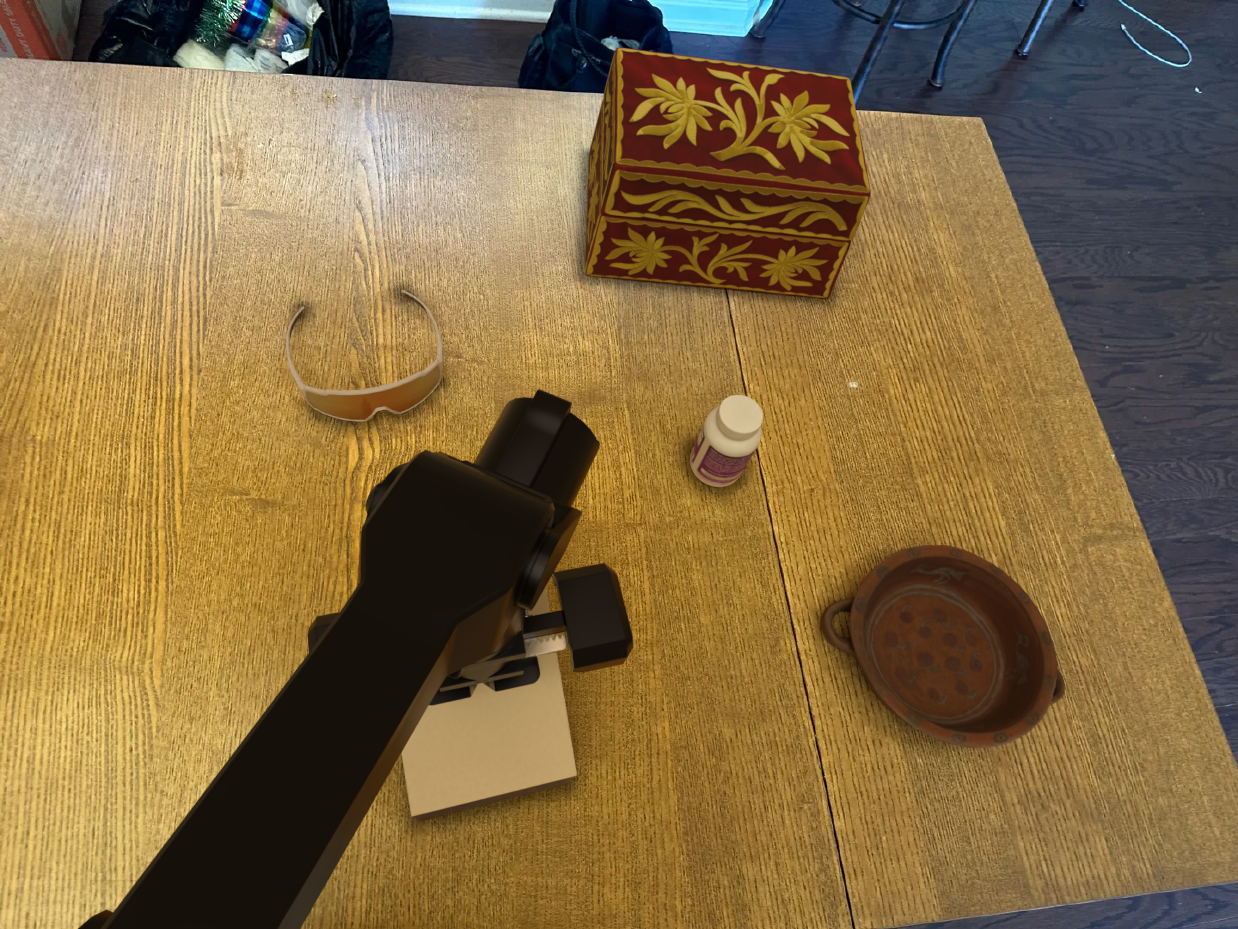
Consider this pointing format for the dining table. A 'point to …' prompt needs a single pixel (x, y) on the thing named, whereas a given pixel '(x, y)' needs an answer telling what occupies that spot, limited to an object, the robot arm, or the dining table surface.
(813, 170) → the decorative box
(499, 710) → the lid
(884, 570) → the dish
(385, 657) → the robot arm
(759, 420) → the pill bottle
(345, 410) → the sunglasses
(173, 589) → the dining table surface
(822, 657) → the dining table surface
